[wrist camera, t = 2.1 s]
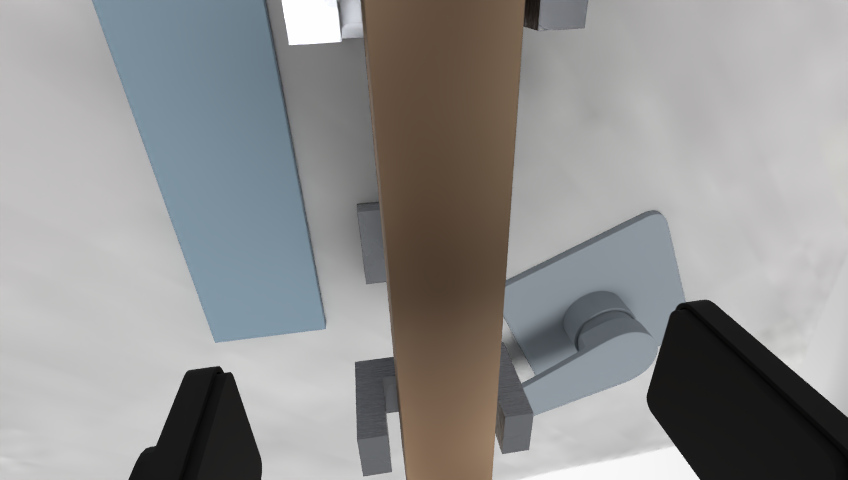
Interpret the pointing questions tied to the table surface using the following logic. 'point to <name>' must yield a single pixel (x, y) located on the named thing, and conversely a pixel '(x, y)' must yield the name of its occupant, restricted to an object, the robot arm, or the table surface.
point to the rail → (445, 214)
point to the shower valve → (595, 311)
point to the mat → (221, 156)
